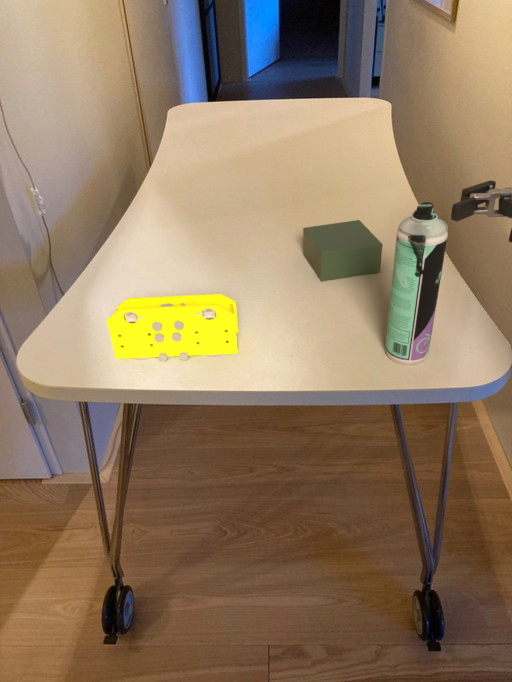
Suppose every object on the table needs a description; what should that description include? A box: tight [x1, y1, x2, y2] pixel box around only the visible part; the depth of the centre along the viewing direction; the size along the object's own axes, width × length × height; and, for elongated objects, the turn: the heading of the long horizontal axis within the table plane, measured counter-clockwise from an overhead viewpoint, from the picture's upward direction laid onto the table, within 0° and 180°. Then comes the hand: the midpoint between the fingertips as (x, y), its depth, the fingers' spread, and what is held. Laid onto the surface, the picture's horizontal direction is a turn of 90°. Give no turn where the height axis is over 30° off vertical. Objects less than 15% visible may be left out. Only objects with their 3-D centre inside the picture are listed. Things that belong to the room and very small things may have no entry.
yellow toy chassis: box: [106, 293, 240, 363], centre depth 72 cm, size 16×6×8 cm, turn 90°
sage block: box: [302, 219, 383, 282], centre depth 90 cm, size 10×10×5 cm
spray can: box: [384, 201, 449, 366], centre depth 65 cm, size 6×6×20 cm
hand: (482, 224), depth 68 cm, fingers open, 8 cm apart
